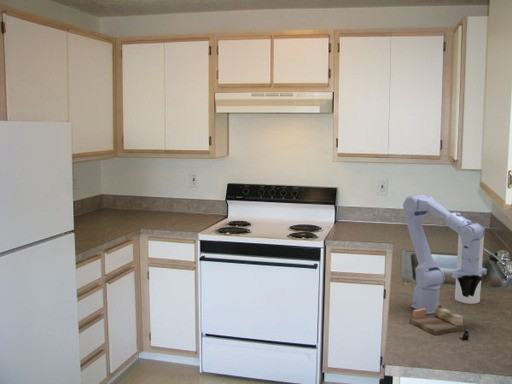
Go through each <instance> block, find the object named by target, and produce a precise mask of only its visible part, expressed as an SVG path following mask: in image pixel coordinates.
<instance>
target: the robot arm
mask: <svg viewBox="0 0 512 384" xmlns="http://www.w3.org/2000/svg"><path fill="white" fill-rule="evenodd" d="M402 208H403V209H404V213H405V214H404V215H405V218H404V219H405V223H406V227H407V230H408V233H409V237H410V239H411V243H412V247H413V249H414V253H415V255H416V256H415V257H416V260H417V263H418V264H417V266H416V267H415V268H414V271H415V282H416V285H415V287H414V289H413V292H412V293H413V295H412V304H411V305H410V307H411V308H413V309H414V310H418V309H423V308H424V309H427V311H426V315H431V314H435V306H438V305H440V291H441V289H440V288H442V284H444V282H445V274H444V271H443V270H442V269H441V267H440V265H439V263H437V262H436V261H434V259H433V256H432V252H431V249H430V246H429V243H428V239H427V237H426V234H425V230H424V227H423V223H422V220H423V219H424V217H425V216H426V215H427V214H428V212H430V213H431V214H434V216H436V217H438V218H440V219H442V220H443V221H445V225H446V227H448V228H450V229H451V230H453V231H454V232H455V233H457V234H458V236H459V235H460V238H461V240H462V260H461V269H460V270H457V269H456V270H455V271H452V272H451V278H453V279H455V280H456V279H458V281H459V283H460V286H461V290H462V295H463V296H465V297H468V296H469V295H470V296H474V293H475V290H476V288H477V285H478V284H479V282H480V281H481V282H482V280H483V279H482V275H487V271H488V268H485V267H482V268H479V254H480V239H482V238H483V236H484V237H485V228H484V227H483V225H481V224H480V223H479V222H475V223H473V222H472V221H471V220H470V219H467V218H465V217H464V216H462V213H460V212H457V211H456V212H450V211H449V210H448V209H447V208H445V207H444V206H442V205H441V204H440V203H438V202H437V201H436V200H435V198H434V197H431V195H429V194H422V195H408V196H407V197H406V198H405V199H404V201H403V204H402ZM483 228H484V229H483ZM480 274H482V275H481V276H479V275H480Z"/></svg>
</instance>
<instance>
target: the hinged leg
mask: <svg viewBox="0 0 512 384" xmlns="http://www.w3.org/2000/svg"><path fill="white" fill-rule="evenodd" d="M434 314H435V316H436V317H439V318H441V319H444V320H446V321H448V322H450V323H452V324H455V325H457V326H458V325H463V321H464V316H463V315H462V314H458V313H457V312H454V311H452V310H449V309H447V308H445V307H444V306H442V305H440V304H439V305H438V306H435V313H434Z"/></svg>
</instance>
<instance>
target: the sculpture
mask: <svg viewBox="0 0 512 384" xmlns="http://www.w3.org/2000/svg"><path fill="white" fill-rule="evenodd" d="M463 331H464V333H463V335H462V337H459V339H460V340H461V341H463V342H470V341H471V339H469V337H470V334H469V329H465V330H463Z"/></svg>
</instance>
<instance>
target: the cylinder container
mask: <svg viewBox="0 0 512 384" xmlns="http://www.w3.org/2000/svg"><path fill="white" fill-rule="evenodd" d="M483 229H484V230H485V228H484V227H483ZM457 236H458V239H457V253H456V254H457V257H456V271H457V270H460V269H461V260H462V240H461V238H460V235H459V234H458V235H457ZM484 239H485V235H484V236H483V238H482V239H480V254H479V268H483V258H484V257H483V256H484V244H485V243H484V241H485V240H484ZM482 275H483V274H480V275H479V276H481V277H482ZM481 287H482V280H481V281H480V282H479V284H478V285H477V288H476V290H475V293H474V296H470V295H469V296H468V297H465V296H463V295H462V290H461V286H460V283H459V281H458V279H455V290H454V291H455V292H454V299H455V301H457V302H460V303H462V304H470V305H471V304H478V303H480V302H481Z"/></svg>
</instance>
